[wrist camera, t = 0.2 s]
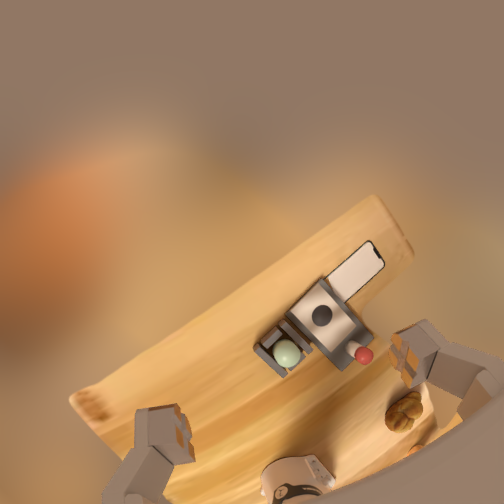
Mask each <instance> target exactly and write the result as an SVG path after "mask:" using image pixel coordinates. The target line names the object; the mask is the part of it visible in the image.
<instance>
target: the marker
mask: <svg viewBox="0 0 504 504" xmlns="http://www.w3.org/2000/svg"><path fill="white" fill-rule="evenodd" d="M345 351H346V352H347V353H348V354H350V355H351V356H352V357H354V358H355V359H356V360H357V361H358V362H360V363H361V364H363V365H366V364H369V363H370V362H371V361H372V359H373V352H372V351H371V350H370V349H368V348H366V347H364V346H362V345H360V344H359V343H357V342H355V341H353V340H351V341H349V342H347V344H346V345H345Z"/></svg>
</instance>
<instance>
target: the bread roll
mask: <svg viewBox="0 0 504 504" xmlns="http://www.w3.org/2000/svg"><path fill="white" fill-rule="evenodd" d="M422 412H423V406H422V403H421V394H420V393H419V392H411V393H409V394H407V395H406V396H405V397H404V398H402V399H400V400H398V401H397V402H396V403H395V404H394V405H392V406H391V407H390V409H389V410H388V411H387V413H386V416H385V424H386V425H387V427H388V428H389V429H390V430H391V431H394V432H396V433H403V432H406V431H408V430H409V429H411V427H412V426H413V423H414V420H416V419H418V418H419V417H420V416H421V415H422Z"/></svg>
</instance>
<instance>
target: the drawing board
mask: <svg viewBox="0 0 504 504" xmlns="http://www.w3.org/2000/svg"><path fill="white" fill-rule="evenodd" d="M285 315H286V316H287V317H288V318H289V319H290V320H291V321H292V322H293V323H294V324H295V325H296V326H297V327H298V328H299V329H300V330H301V331H302V332H303V333H304V334H305V335H306V336H307V337H308V338H309V339H310V340H311V341H312V342H313V343H314V344H315V345H316V346H317V347H318V348H319V349H320V350H321V351H322V352H323V353H324V354H325V355H326V357H327V358H328V359H329V360H330V361H331V362H332V363H333V364H334V365H335V366H336V367H337V368H338V369H339V370H340V371H343V370H344V369H345V368H346V367H347V366H348V365H349V364H350V363H351V362H352V361H353V360H354V359H355V358H354V357H352V356H351V355H350V354H348V353H347V352H346V351H345V345H346V344H347V342H349V341H351V340H353V341H355V342H357V343H359V344H360V345H362V346H364V347H366V346H367V345H368V344H369V343H370V342H371V341H372V340H373V338H374V337H373V336H372V335H371V334H370V332H369V331H368V330H367V329H366V328H365V327H364V325H363V324H362V323H361V322H360V321H359V320H358V319H357V317H356V316H355V315H354V314H353V313H352V312H351V311H350V309H349V308H348V307H347V306H346V305H345V304H344V303H343V301H342V300H341V299H340V298H339V297H338V296H337V295H336V294H335V292H334V291H333V290H332V289H331V288H330V287H329V286H328V285H327V284H326V282H325V281H324V280H323V279H322V278H320V279H319V280H318V281H317V282H316V283H315V284H314V285H313V286H312V287H311V288H310V289H309V290H308V291H307V292H306V293H305V294H304V295H303V296H302V297H301V298H300V299H299V300H298V301H297V302H296V303H295V304H294V305H293V306H292V307H291V308H290V309H289V310H288V311H287V312H286V313H285Z"/></svg>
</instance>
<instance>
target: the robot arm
mask: <svg viewBox="0 0 504 504" xmlns="http://www.w3.org/2000/svg"><path fill="white" fill-rule="evenodd" d="M391 341H392V342H393V344H392V346H391V347H390V348H389V358H390V361H391V364H392V366H393V367H394V368H395V370H398V371H400V372H401V378H402V380H403V381H404V382H405V384H406V385H407V386H408V388H409V389H411V388H413V387H415V386H417V385H419V384H420V383H422V382H424V381H426V380H427V382H429V383H431V384H433V385H435V386H437V387H439V388H441V389H443V390H445V391H447V392H449V393H451V394H453V395H455V396H457V397H459V398H461V399H462V401H461V403H460V405H459V406H458V408H457V412H458V414H459V415H460V417H461V418H462V419H463V422H461V423H460V424H458V425H457V426H455V427H454V428H453V429H451V430H450V431H448V432H447V433H445V434H444V435H442V436H441V437H439V438H437V439H436V440H434V441H433V442H431V443H429V444H428V445H426V446H424V447H423V448H421V449H419V450H418V451H416V452H414V453H412V454H411V455H409V456H407V457H405V458H403V459H402V460H400V461H398V462H396V463H394V464H392V465H390V466H388V467H386V468H384V469H382V470H380V471H378V472H376V473H374V474H372V475H369V476H367V477H365V478H363V479H360V480H358V481H356V482H353V483H351V484H349V485H346V486H344V487H341V488H339V489H336V490H333V491H332V490H331V488H332V487H333V485H334V484H335V478H334V477H333V476H332V475H331V474H330V472H329V471H328V470H327V469H326V468H325V467H324V466H323V464H322V463H321V462H320V461H319V460H318V459H317V457H316V456H315V455H307V456H304V457H288V458H283V459H280V460H277V461H275V462H273V463H272V464H270V465H269V466H268V467H267V468H266V469H265V470H264V471H263V473H262V475H261V483H262V488H261V490H260V492H261V494H262V495H263V496H266V499H267V502H268V504H504V362H503V361H502V360H501V359H500V358H499V357H497V356H494V355H491V354H488V353H485V352H482V351H478V350H475V349H472V348H469V347H466V346H463V345H460V344H457V343H454V342H452V343H449V342H448V341H447V340H446V339H445V338H444V337H443V335H442V334H441V333H440V332H439V331H438V330H437V329H436V328H435V327H434V326H433V325H432V324H431V323H430V322H429V321H428V320H426V319H423V320H421V321H419V322H417V323H415V324H412V325H410V326H408V327H406V328H404V329H402V330H400V331H398V332H396V333H394V334H393V335H392V338H391ZM191 438H192V431H191V427H190V424H189V421H188V419H187V417H186V416H185V414H183V413H181V411H180V407H179V406H178V404H177V403H175V404H169V405H163V406H157V407H149V408H143V409H137V410H136V413H135V437H134V448H131V449H130V451H129V452H128V454H127V455H126V457H125V458H124V460H123V461H122V463H121V465H120V466H119V468H118V469H117V471H116V472H115V474H114V475H113V477H112V478H111V480H110V481H109V483H108V485H107V486H106V487H105V489H104V490H103V492H102V504H158V502H159V500H160V497H161V495H162V493H163V491H164V489H165V487H166V484H167V482H168V480H169V478H170V476H171V473H172V471H173V469H174V465H180V464H186V463H192V462H196V461H195V453H194V447H193V445H192V444H191V443H190V442H189V441H190V439H191Z"/></svg>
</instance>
